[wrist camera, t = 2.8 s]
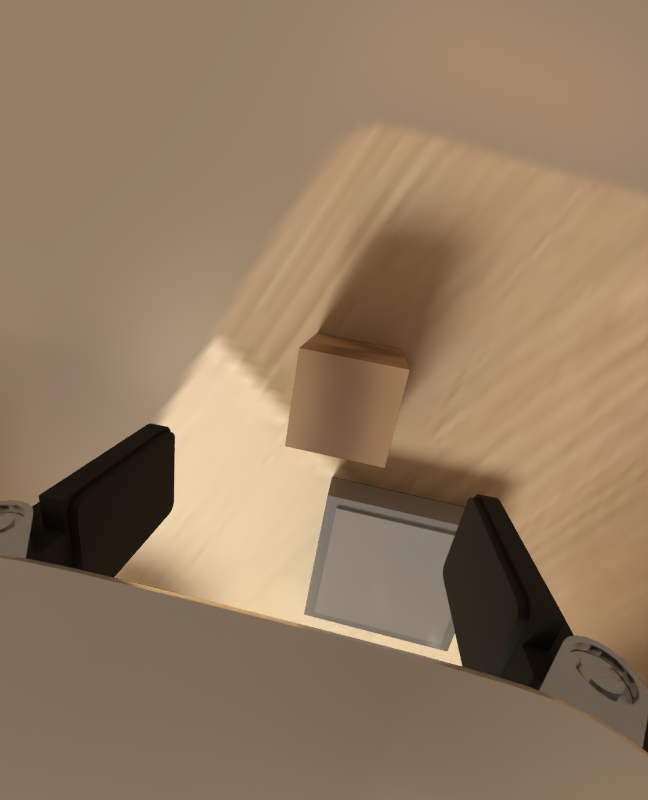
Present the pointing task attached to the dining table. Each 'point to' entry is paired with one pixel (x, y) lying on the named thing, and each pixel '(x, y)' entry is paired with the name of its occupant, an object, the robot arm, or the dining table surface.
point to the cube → (346, 398)
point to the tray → (384, 563)
